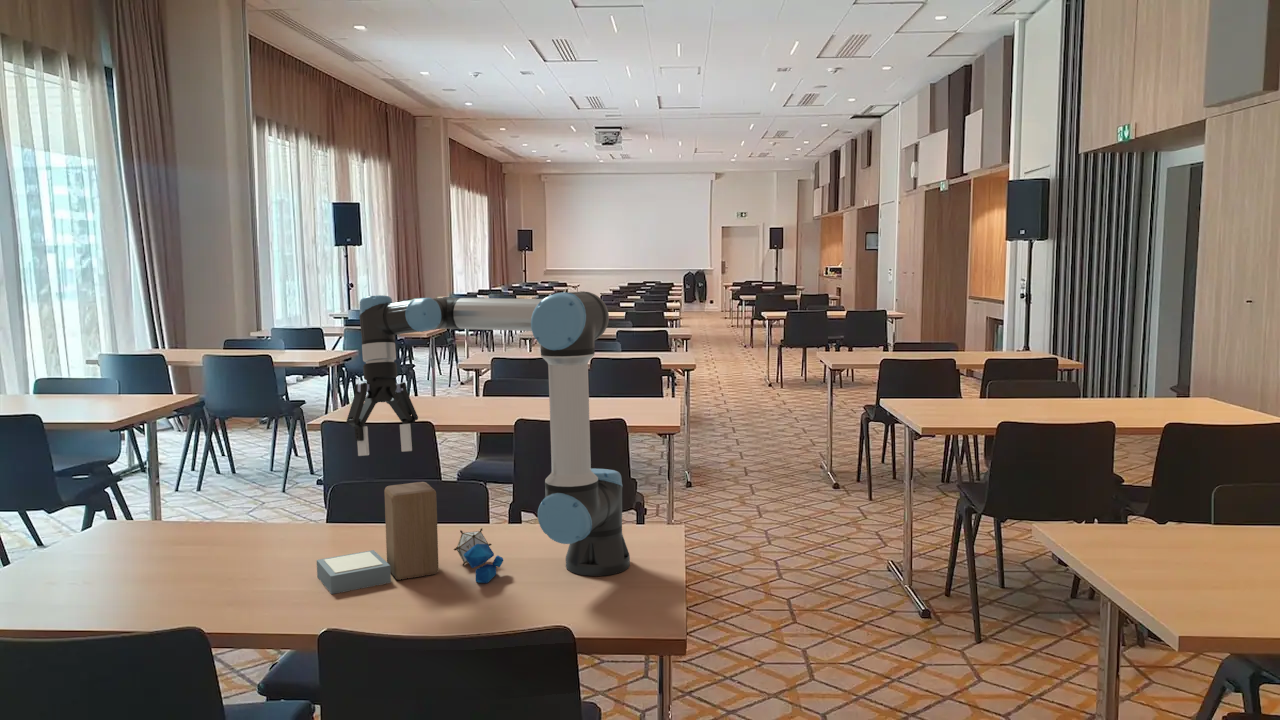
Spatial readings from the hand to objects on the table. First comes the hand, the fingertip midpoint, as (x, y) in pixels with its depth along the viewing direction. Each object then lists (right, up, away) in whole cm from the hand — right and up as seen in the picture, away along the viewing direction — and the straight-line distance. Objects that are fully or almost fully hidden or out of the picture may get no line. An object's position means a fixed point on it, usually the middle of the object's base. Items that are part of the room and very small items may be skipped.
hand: (385, 453), depth 209 cm
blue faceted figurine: (+24, -28, -5) cm, 37 cm away
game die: (+19, -27, +6) cm, 34 cm away
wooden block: (+6, -28, 0) cm, 28 cm away
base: (-6, -28, -5) cm, 29 cm away
